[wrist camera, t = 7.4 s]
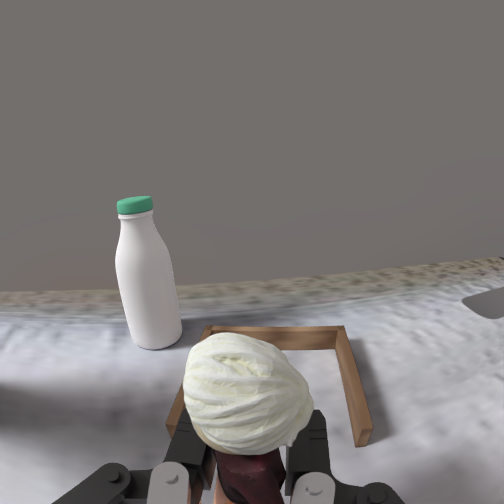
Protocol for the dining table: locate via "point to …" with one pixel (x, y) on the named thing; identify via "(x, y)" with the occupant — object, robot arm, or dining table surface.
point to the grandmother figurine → (245, 413)
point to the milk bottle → (146, 277)
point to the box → (303, 341)
